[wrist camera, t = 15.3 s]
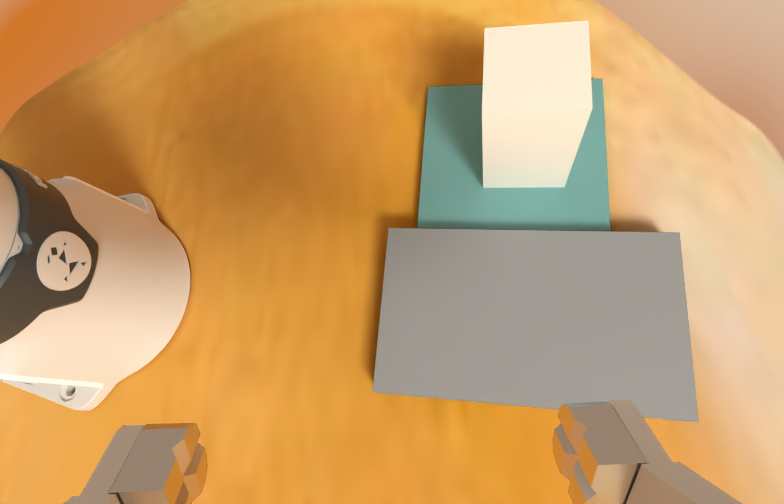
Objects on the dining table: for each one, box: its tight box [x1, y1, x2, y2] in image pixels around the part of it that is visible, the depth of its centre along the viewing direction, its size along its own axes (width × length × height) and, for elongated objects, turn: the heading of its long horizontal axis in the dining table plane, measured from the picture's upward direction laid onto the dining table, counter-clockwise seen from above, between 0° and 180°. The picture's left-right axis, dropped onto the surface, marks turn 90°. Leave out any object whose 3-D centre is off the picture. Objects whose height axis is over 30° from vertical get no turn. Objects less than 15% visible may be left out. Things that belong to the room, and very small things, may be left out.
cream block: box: [482, 21, 593, 188], centre depth 32 cm, size 6×6×10 cm
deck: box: [373, 228, 699, 422], centre depth 32 cm, size 20×12×2 cm, turn 85°
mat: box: [417, 79, 611, 231], centre depth 37 cm, size 14×13×1 cm
